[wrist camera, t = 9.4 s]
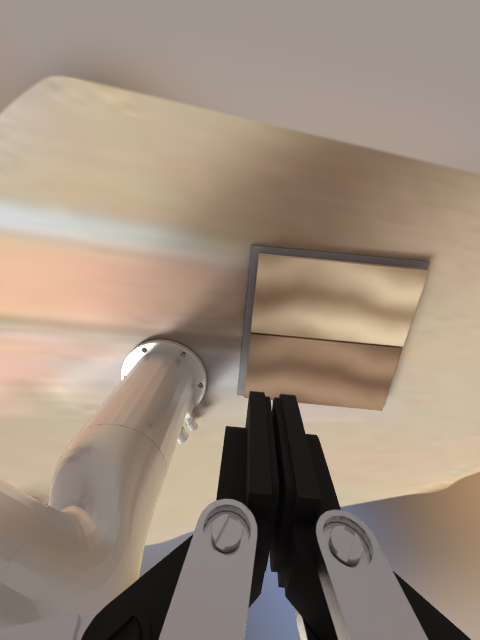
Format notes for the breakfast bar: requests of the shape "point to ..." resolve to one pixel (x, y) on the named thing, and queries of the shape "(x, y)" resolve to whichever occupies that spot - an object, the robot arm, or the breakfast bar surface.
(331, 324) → the ash plank
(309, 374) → the walnut board
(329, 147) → the breakfast bar surface
